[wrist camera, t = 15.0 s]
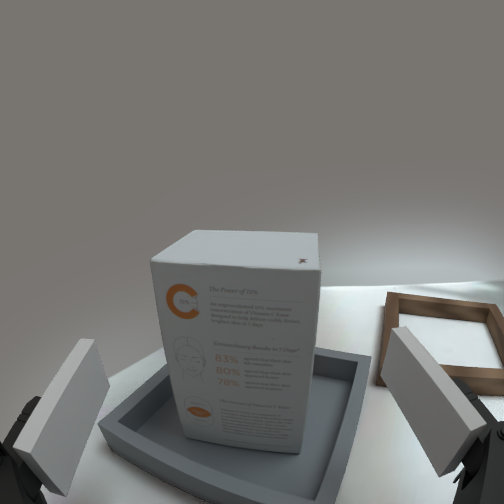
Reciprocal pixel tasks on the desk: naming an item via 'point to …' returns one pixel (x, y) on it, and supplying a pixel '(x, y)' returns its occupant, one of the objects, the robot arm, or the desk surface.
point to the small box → (240, 334)
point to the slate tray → (243, 459)
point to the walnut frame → (499, 326)
